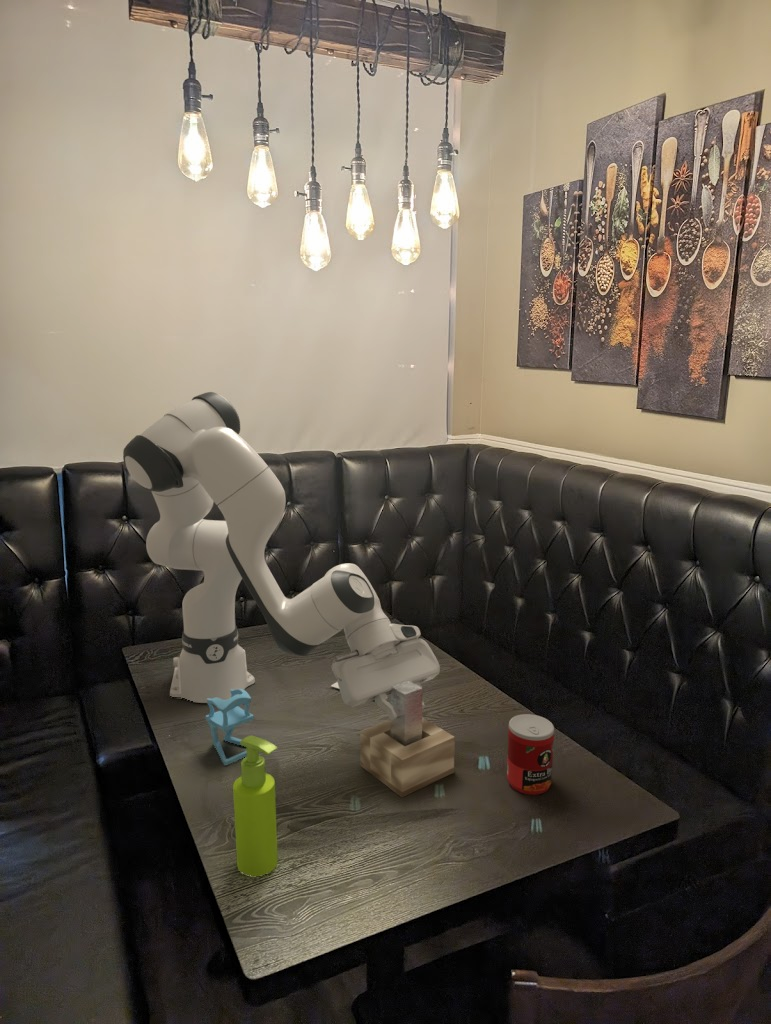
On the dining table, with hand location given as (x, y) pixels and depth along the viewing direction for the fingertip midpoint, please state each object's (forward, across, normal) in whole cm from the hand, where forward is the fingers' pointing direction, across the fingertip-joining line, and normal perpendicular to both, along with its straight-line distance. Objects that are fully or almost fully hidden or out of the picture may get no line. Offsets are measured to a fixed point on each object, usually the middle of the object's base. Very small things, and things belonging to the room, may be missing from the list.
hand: (408, 713), depth 123 cm
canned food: (+19, +15, -3) cm, 24 cm away
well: (+7, 0, +9) cm, 11 cm away
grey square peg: (+5, 0, +5) cm, 7 cm away
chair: (-10, -22, +27) cm, 36 cm away
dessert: (-15, +15, +32) cm, 38 cm away
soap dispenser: (+12, -32, +5) cm, 35 cm away
